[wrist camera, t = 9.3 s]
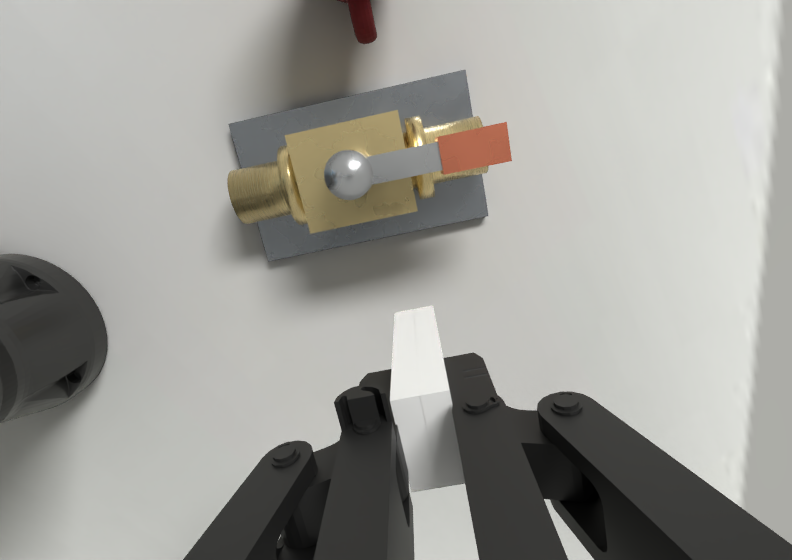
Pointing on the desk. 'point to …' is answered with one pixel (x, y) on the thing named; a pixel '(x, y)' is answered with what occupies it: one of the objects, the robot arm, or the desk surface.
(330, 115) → the valve block
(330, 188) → the lever
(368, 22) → the mug
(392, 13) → the desk surface
